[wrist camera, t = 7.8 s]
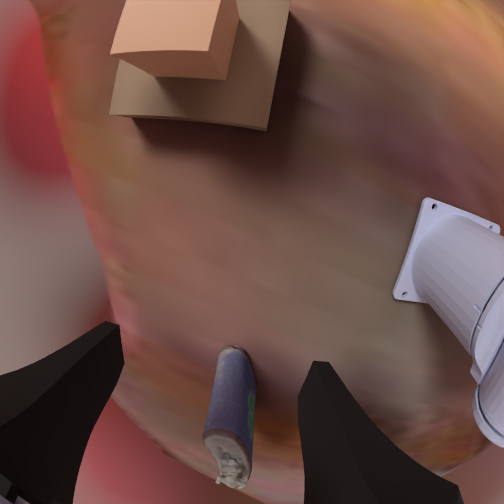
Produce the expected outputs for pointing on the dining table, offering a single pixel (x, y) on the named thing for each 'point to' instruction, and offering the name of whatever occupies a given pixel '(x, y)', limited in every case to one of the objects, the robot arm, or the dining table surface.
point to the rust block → (178, 37)
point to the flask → (232, 417)
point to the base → (211, 90)
